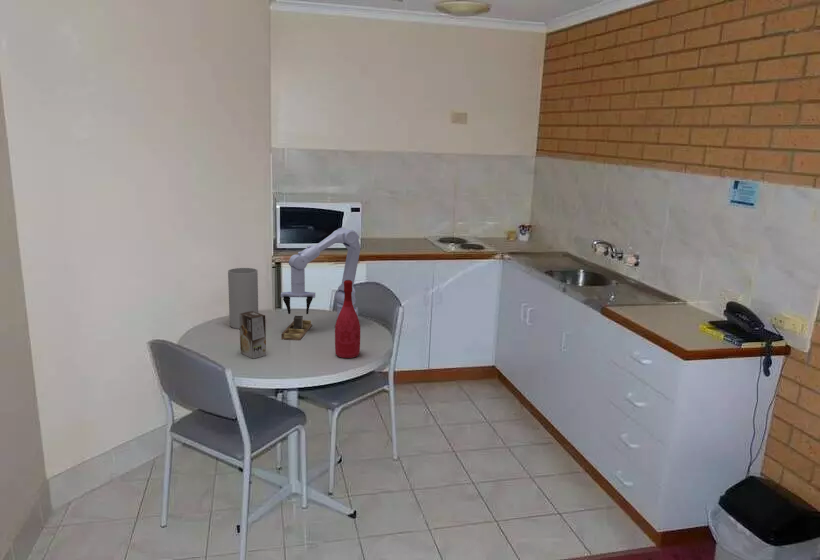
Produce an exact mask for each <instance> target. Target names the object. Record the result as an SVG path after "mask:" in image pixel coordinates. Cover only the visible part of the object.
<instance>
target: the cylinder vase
mask: <svg viewBox="0 0 820 560" xmlns="http://www.w3.org/2000/svg"><path fill="white" fill-rule="evenodd" d="M258 275H259V273H258V269H256V268H251V267H235V268H230V269H228V270H227V280H228V281H227V282H228V310H229V311H228V312H229V313H228V317H229V318H228V319H229V326H230V327H231V328H233V329H237V330H240V322H239V314H241V313H245V312H250V311H254V312H257V313H259V285H258V284H259V283H258V282H259V280H258V279H259V278H258V277H259V276H258Z"/></svg>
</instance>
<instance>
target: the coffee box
mask: <svg viewBox="0 0 820 560" xmlns="http://www.w3.org/2000/svg"><path fill="white" fill-rule="evenodd" d="M239 322H240V329H239V341H240V342H239V343H240V346H239V347H240V355H241V354H242V355H244V356H246V357H249V358H251V359H256V358H257V359H258V358H261V357H265V356H267V332H266V331H267V330H266V329H267V328H266V315H265V314H263V313H259V312H258V313H257V312H254V311H250V312H245V313H241V314H239Z"/></svg>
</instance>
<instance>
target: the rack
mask: <svg viewBox="0 0 820 560" xmlns="http://www.w3.org/2000/svg"><path fill="white" fill-rule="evenodd" d="M312 326H313V324H312V320H308V319H307V320H306V319H303V329H294V320H293V321H292V322H291V323H290V324H289V325H288V326H287V328H285V330H283V332H282V333H281V338H280V339H281V340H283V339H284V340H286V341H287V340H289V341H301V340H302V339H303V337H304V336H305V335H306V334H307V333H308V331H309V330H310V329H311V328H312ZM284 340H283V341H284Z"/></svg>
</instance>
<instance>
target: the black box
mask: <svg viewBox="0 0 820 560" xmlns="http://www.w3.org/2000/svg"><path fill="white" fill-rule="evenodd" d="M303 320H304V317H303V315H294V317H293V321H294V329H303Z"/></svg>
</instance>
